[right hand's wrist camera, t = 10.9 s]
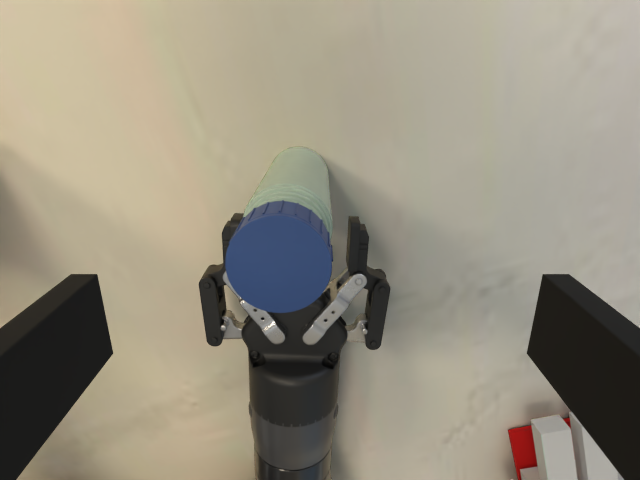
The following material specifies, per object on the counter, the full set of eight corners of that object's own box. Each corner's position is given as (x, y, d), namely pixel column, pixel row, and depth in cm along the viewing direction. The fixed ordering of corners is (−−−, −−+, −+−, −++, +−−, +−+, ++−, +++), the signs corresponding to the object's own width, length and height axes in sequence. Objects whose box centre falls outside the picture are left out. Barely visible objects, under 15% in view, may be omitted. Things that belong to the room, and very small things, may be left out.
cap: (220, 213, 20) (207, 230, 18) (317, 188, 19) (316, 201, 17) (251, 299, 21) (244, 324, 19) (342, 277, 21) (344, 300, 19)
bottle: (262, 155, 35) (206, 225, 18) (319, 139, 34) (318, 196, 17) (279, 210, 36) (244, 322, 20) (334, 196, 36) (347, 297, 19)
